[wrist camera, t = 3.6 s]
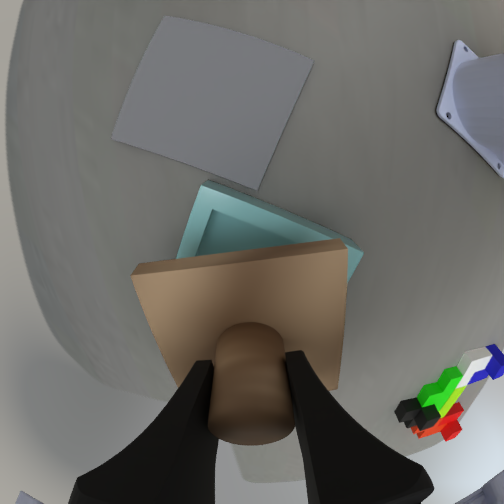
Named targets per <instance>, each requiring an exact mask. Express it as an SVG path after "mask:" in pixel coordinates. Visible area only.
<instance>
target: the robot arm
mask: <svg viewBox="0 0 504 504" xmlns="http://www.w3.org/2000/svg"><path fill="white" fill-rule="evenodd" d="M464 49H465V50H464ZM436 111H437V114H438V116H439V117H440V118H441V119H442V120H443V121H444V122H446V123H447V124H448V125H449V126H450V127H451V128H453V129H454V130H455V131H456V132H457V133H458V134H459V135H460V136H461V137H462V138H463V139H465V140H466V141H467V142H468V143H469V144H470V145H471V146H472V147H473V148H474V149H475V150H476V151H477V152H478V153H479V154H480V155H481V156H482V157H483V158H484V159H485V160H486V161H487V163H488V164H489V165H490V166H491V167H492V168H493V169H494V170H495V171H496V172H497V174H498V175H499V176H500V177H502V178H504V53H502V54H496V55H491V56H487V57H482V58H479V57H478V56H477V55H476V54H475V53H474V52H473V51H472V50H470V49H469V48H468V47H467V46H466V45H465V44H464V43H463V42H462V41H461V40H457V41H455V43H454V47H453V52H452V56H451V60H450V64H449V68H448V72H447V75H446V79H445V83H444V86H443V90H442V93H441V96H440V99H439V103H438V106H437V110H436ZM446 114H448V118H447V116H446ZM497 165H498V166H497ZM285 357H286V366H287V373H288V380H289V385H290V391H291V398H292V405H293V413H294V420H295V427H296V431H297V435H298V439H299V443H300V448H301V452H302V457H303V462H304V470H305V478H306V487H307V496H308V504H421V502H422V501H423V500H424V499H426V498H427V497H428V496H429V495H430V494H431V493H432V492H433V491H434V486H433V483H432V481H431V479H430V477H429V475H428V474H427V472H426V470H425V469H424V467H423V466H422V465H420V464H418V463H416V462H414V461H412V460H410V459H408V458H406V457H405V456H403V455H401V454H399V453H398V452H396V451H395V450H393V449H391V448H390V447H388V446H387V445H385V444H384V443H383V442H381V441H380V440H379V439H377V438H376V437H375V436H373V435H372V434H371V433H369V432H368V431H367V430H366V429H364V428H363V427H362V426H361V425H360V424H359V423H358V422H356V421H355V420H354V419H353V418H352V417H351V416H350V415H349V414H348V413H347V412H346V411H345V410H344V409H343V408H342V406H341V405H340V404H339V403H338V402H337V401H336V400H335V398H334V397H333V396H332V395H331V394H330V392H329V391H328V390H327V388H326V387H325V386H324V384H323V383H322V382H321V380H320V379H319V378H318V376H317V375H316V373H315V371H314V370H313V368H312V367H311V365H310V363H309V361H308V360H307V358H306V356H305V353H304V352H303V351H302V350H297V351H290V352H285ZM213 373H214V366H213V363H212V360H197V361H196V362H195V363H194V364H193V366H192V368H191V369H190V371H189V373H188V374H187V376H186V377H185V379H184V380H183V382H182V383H181V385H180V387H179V388H178V389H177V391H176V392H175V394H174V395H173V397H172V398H171V399H170V401H169V402H168V403H167V405H166V406H165V407H164V408H163V410H162V411H161V412H160V414H159V415H158V416H157V417H156V418H155V420H154V421H153V422H152V423H151V424H150V425H149V426H148V427H147V428H146V429H145V430H144V431H143V432H142V433H141V434H140V435H139V436H138V437H137V438H136V439H135V440H134V441H133V442H132V443H130V444H129V445H128V446H127V447H126V448H125V449H123V450H122V451H121V452H119V453H118V454H117V455H115V456H114V457H112V458H111V459H109V460H108V461H107V462H105V463H104V464H102V465H100V466H99V467H97V468H95V469H93V470H91V471H89V472H88V473H86V474H84V475H82V476H80V477H78V478H77V480H76V482H75V485H74V488H73V491H72V493H71V496H70V499H69V502H68V504H215V463H216V454H217V448H218V440H219V438H217V437H215V436H214V435H213V434H212V433H211V432H210V431H209V429H208V418H209V409H210V399H211V390H212V382H213ZM16 504H43V503H42V502H40V501H38V500H37V499H35V498H33V497H31V496H30V495H28V494H26V493H25V492H23V491H20V494H19V496H18V498H17V501H16ZM455 504H504V470H503V471H502V472H500V473H499V474H497V475H496V476H495V477H494V478H492V479H491V480H489V481H488V482H487V483H486V484H484V485H483V487H481V488H480V489H478V490H477V491H475V492H474V493H472V494H470V495H469V496H467V497H465V498H464V499H462V500H460V501H458V502H457V503H455Z"/></svg>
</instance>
